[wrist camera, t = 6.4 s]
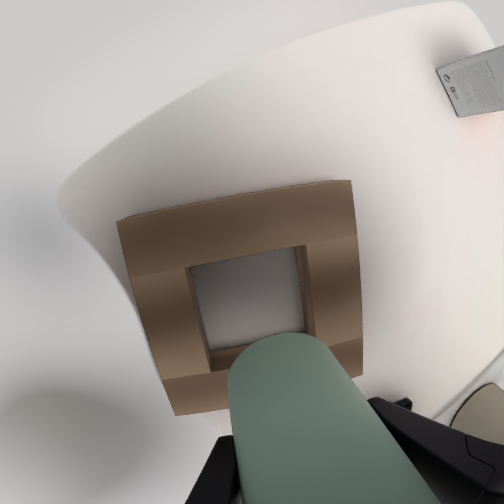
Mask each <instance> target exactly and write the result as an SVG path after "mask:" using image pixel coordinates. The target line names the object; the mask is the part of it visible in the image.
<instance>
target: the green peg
mask: <svg viewBox="0 0 504 504" xmlns="http://www.w3.org/2000/svg"><path fill="white" fill-rule="evenodd" d="M227 391H228V400H229V408H230V417H231V425H232V433H233V439H234V447H235V455H236V462H237V469H238V478H239V485H240V491H241V498H242V504H441V503H440V502H439V500H438V499H437V497H436V496H435V495H434V493H433V492H432V490H431V489H430V488H429V486H428V485H427V483H426V482H425V481H424V479H423V478H422V476H421V475H420V474H419V472H418V471H417V469H416V468H415V467H414V465H413V464H412V462H411V461H410V460H409V458H408V457H407V456H406V454H405V453H404V451H403V450H402V449H401V447H400V446H399V444H398V443H397V442H396V440H395V439H394V437H393V436H392V435H391V433H390V432H389V431H388V429H387V428H386V426H385V425H384V424H383V422H382V421H381V419H380V418H379V417H378V415H377V414H376V413H375V411H374V410H373V408H372V407H371V406H370V404H369V403H368V401H367V400H366V399H365V397H364V396H363V395H362V393H361V392H360V390H359V389H358V388H357V386H356V385H355V384H354V382H353V381H352V379H351V378H350V377H349V375H348V374H347V373H346V371H345V370H344V368H343V367H342V366H341V364H340V363H339V362H338V360H337V359H336V357H335V356H334V355H333V353H332V352H331V351H330V349H329V348H328V347H327V346H326V345H325V344H324V343H323V342H322V341H320V340H319V339H317V338H315V337H313V336H310V335H307V334H303V333H294V332H289V333H279V334H274V335H271V336H268V337H265V338H263V339H260V340H258V341H257V342H255V343H253V344H252V345H250V346H249V347H247V348H246V349H245V350H244V351H243V352H242V353H241V354H240V355H239V356H238V357H237V358H236V360H235V361H234V363H233V364H232V366H231V368H230V371H229V374H228V379H227Z"/></svg>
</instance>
